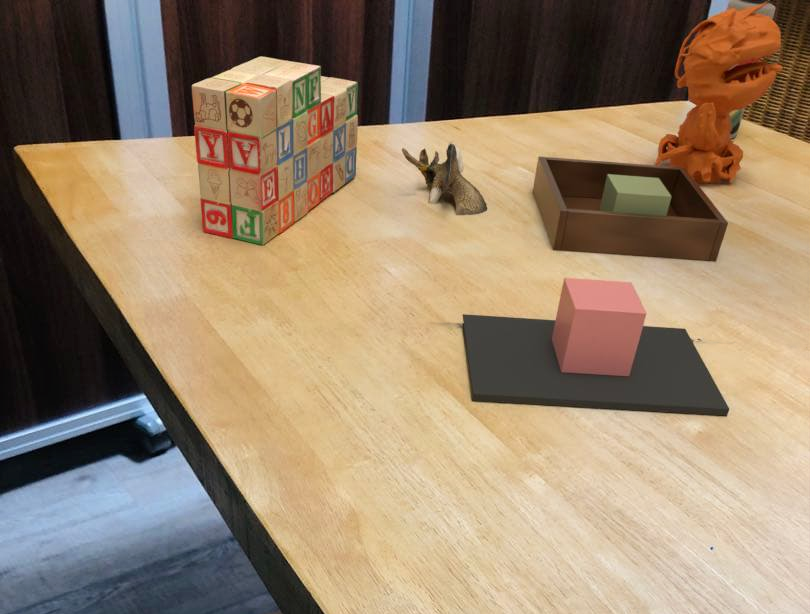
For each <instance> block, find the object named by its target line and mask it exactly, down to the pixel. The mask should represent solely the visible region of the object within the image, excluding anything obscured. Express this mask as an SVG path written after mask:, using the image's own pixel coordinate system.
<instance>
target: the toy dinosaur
mask: <svg viewBox="0 0 810 614" xmlns="http://www.w3.org/2000/svg"><path fill="white" fill-rule="evenodd" d="M767 3H768V2H765V3H763V4H761V5H758V6H756V7H755V6H753V7H746V8H744V9H743V10H741V11H738V9H735V8H732V9H727V8H726V9H725V10H723V11H721V12H719V13H717V14H714V15H712V16H709V18H707V19H706V20H703V21H702V22H699V23H698V24H697V25H696V26H695V27H694V28H692V29H691V31H690V32H689V34H688V35H687V36H686V38H685V39H684V40H683V41H682V44H681V47H680V50H679V53H678V57H677V60H676V64H675V69H674V76H675V78H676V79H677V81H676V86H677V88H678V89H682V88H684V87H687V91H688V92H687V93H688V96H687V97H688V102H689V103H691V104H693V105H695V106H693V107H692V108H691V109H690V110H689V111H688V112H687V113H686V118H685V119H684V121H683V122H682V124H680V125H679V127H678V128H679V129H678V131H677V135H676V134H673V133H667V134H665V135H664V137H661V139H660V140H659V143H658V146H657V158H656V160H655V163H654V164H653V165H657V166H658V165H659V164H660V163H661V162H662V163H663V162H666V161H668V160H669V165H668V166H670V167H684V168H685V169H686V170H687V171H688V173H689V174H690V175H691V176H692V178H693V179H694V180H695V181H696V183H699V184H700V183H701V184H714V183H718V182H720V181H721V180H729V181H728V182H729V183H730V184H732V183H733V181H734V179H735V178H736V176H737V173H738V172H739V171H740V170H741V165H740V163H741V162H742V160H743V157H744V150H743V149H741V146H739V145H738V144H735V143H734V142H735V140H732V139H730V138H729V137H730V132H731V131H732V123H731V120H730V114H729V113H730V112H732V111H734V110H741V109H743V108H745V109H746V107H749V106H750V105H752V104H754V103H756V101H758V100H759V99H760V98H762V97H764V96H765V95H767V93H768V90H769V89H770V87H771V86H772V85H773V84H774V82H775V80H776V77H777V73H779V72H780V73H781V72H782V71H783V70H784V69H783V65H781V64H777V63H768V62H767V61H763V60H764V59H765V58H767V59H769V58H770V57H771V56H772V55H773V54H777V53H778V52H779V51H780V49H781V46H782V44H781V42H782V32H781V30H780V27H779V26H778V24H777V23H776V22H775V21H774V20H773V19H771V18H770V16H766V15H762V14H756V13H753V12H756V11H758V10H759V9H761V8H762V7H764V6H765V5H766V4H767ZM696 32H697V33H696ZM694 33H695V35H694V38H693V39H692V40H691V41H690V44H688V45H687V46H686V44H687V43H688V42H689V40H690V38H691V36H692V35H693V34H694ZM687 50H688V51H687ZM686 51H687V53H686ZM683 57H684V60H683ZM758 58H759V61H760V62H754V60H755V59H758ZM750 59H752V62H750V63H747V64H743V63H744V62H746V60H750ZM682 61H683V62H682ZM681 63H682V64H683V68H684V72H685V73H684V74H683V75H682V76H679V70H680V66H681ZM737 64H743V65H737ZM735 65H737V66H735ZM733 66H735V67H734V68H732V69H729V68H731V67H733Z"/></svg>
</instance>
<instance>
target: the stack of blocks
mask: <svg viewBox="0 0 810 614" xmlns="http://www.w3.org/2000/svg"><path fill="white" fill-rule="evenodd" d="M358 85H359V83H358V81H353V80H348V79H344V78H337V77H332V76H330V77H328V76H323V75H322V66H321V65H318V64H317V65H316V64H311V63H310V64H309V63H303V62H297V61H290V60H284V59H278V58H273V57H268V56H258V57H256V58H255V57H254V58H253V59H251V60H249V61H246V62H243V63H241V64H239V65H236V66H234V67H232V68H231V69H228V70H225V71H223V72H221V73H219V74H216V75H214V76H212V77H208V78H205V79H203V80H201V81H198V82H196V83H193V84H192V85H191V98H192V108H193V118H194V126H193V128H194V129H193V130H194V131H193V132H194V142H195V144H194V145H195V154H196V162H197V170H198V171H197V172H198V181H199V192H200V211H201V224H202V225H201V226H202V231H203V232H204V233H207V234H212V235H216V236H221V237H225V238H230V239H235V240H239V241H243V242H248V243H252V244H256V245H261V246H264V245H265V244H267V243H268V242H270V241H271V240H272V239H274V238H275V237H276V236H277V235H278V234H281V233H283V232H284V231H285V230H287V229H288V228H289V227H291V226H292V225H293V224H294V223H296V222H298V221H299V220H300V219H302V218H303V217H304V216H305V215H307V214H308V212H309V211H311V210H312V209H313V208H314V207H316V206H317V205H318V204H320V203H321V202H322V201H323V200H325V199H326V198H327V197H329V196H330V195H331V194H332V193H336V191H337V190H339V189H340V188H342V187H343V186H344V185H346V184H347V183H349V182H350V181H351V180H352V179H353V178H355V177H356V175H357V151H358V149H357V148H358V146H357V145H358V132H359V131H358V130H359V129H358V127H359V126H358V125H359V116H358V91H359V89H358V88H359V86H358Z"/></svg>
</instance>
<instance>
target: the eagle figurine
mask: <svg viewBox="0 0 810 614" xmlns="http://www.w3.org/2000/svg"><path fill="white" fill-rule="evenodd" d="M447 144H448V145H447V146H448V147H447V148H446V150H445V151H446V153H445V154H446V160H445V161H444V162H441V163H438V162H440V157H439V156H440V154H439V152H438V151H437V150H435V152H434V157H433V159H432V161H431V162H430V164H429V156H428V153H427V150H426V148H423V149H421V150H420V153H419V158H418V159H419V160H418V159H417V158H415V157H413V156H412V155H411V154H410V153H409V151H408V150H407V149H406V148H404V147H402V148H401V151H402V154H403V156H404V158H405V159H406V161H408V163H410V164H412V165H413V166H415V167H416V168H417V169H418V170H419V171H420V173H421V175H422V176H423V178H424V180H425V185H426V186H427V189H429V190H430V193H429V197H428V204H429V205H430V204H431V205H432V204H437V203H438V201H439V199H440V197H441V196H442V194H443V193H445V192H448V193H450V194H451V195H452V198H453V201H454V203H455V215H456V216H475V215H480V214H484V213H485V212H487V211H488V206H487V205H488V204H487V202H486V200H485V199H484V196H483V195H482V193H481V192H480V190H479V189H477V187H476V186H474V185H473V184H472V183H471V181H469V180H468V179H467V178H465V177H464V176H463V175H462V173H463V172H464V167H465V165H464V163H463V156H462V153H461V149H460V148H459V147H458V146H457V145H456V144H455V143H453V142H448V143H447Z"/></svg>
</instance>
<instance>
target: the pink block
mask: <svg viewBox="0 0 810 614" xmlns="http://www.w3.org/2000/svg"><path fill="white" fill-rule="evenodd" d="M562 282H563V283H562V285H561V286H562V287H561V290H560V291H561V292H560V297H559V302H558V307H557V311H556V316H555V320H556V321H555V325H554V330H553V335H552V342H553V346H554V349H555V352H556V356H557V359H558V363H559V366H560V369H561V372H562V373H578V374H595V375H611V376H627V377H629V375H630V371H631V368H632V364H633V361H634V357H635V353H636V350H637V346H638V343H639V339H640V335H641V332H642V328H643V326H645V321H646V317H647V311H646V309H645V306H644V305H643V303H642V301H641V298H640V297H639V294H638V292H637V291H636V289H635V287H634V284H633V283H632V282H631V281H620V280H619V281H618V280H603V279H602V280H601V279H588V278H575V277H564V278H563V281H562Z"/></svg>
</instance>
